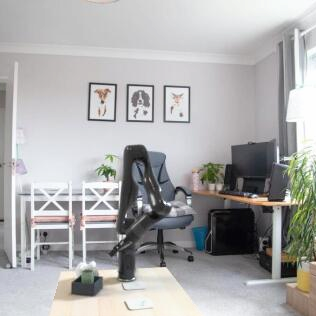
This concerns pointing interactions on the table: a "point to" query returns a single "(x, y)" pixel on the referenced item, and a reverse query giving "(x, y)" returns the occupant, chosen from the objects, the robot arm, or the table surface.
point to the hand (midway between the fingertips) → (114, 253)
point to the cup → (87, 276)
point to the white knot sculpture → (85, 267)
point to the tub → (87, 286)
